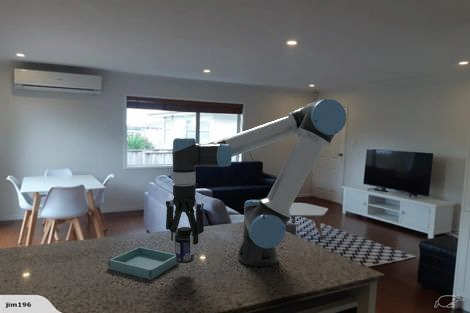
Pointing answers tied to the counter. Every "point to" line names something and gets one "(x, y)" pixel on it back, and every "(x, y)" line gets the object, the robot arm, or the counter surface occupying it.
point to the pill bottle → (183, 245)
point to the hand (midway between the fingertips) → (184, 251)
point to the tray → (143, 262)
